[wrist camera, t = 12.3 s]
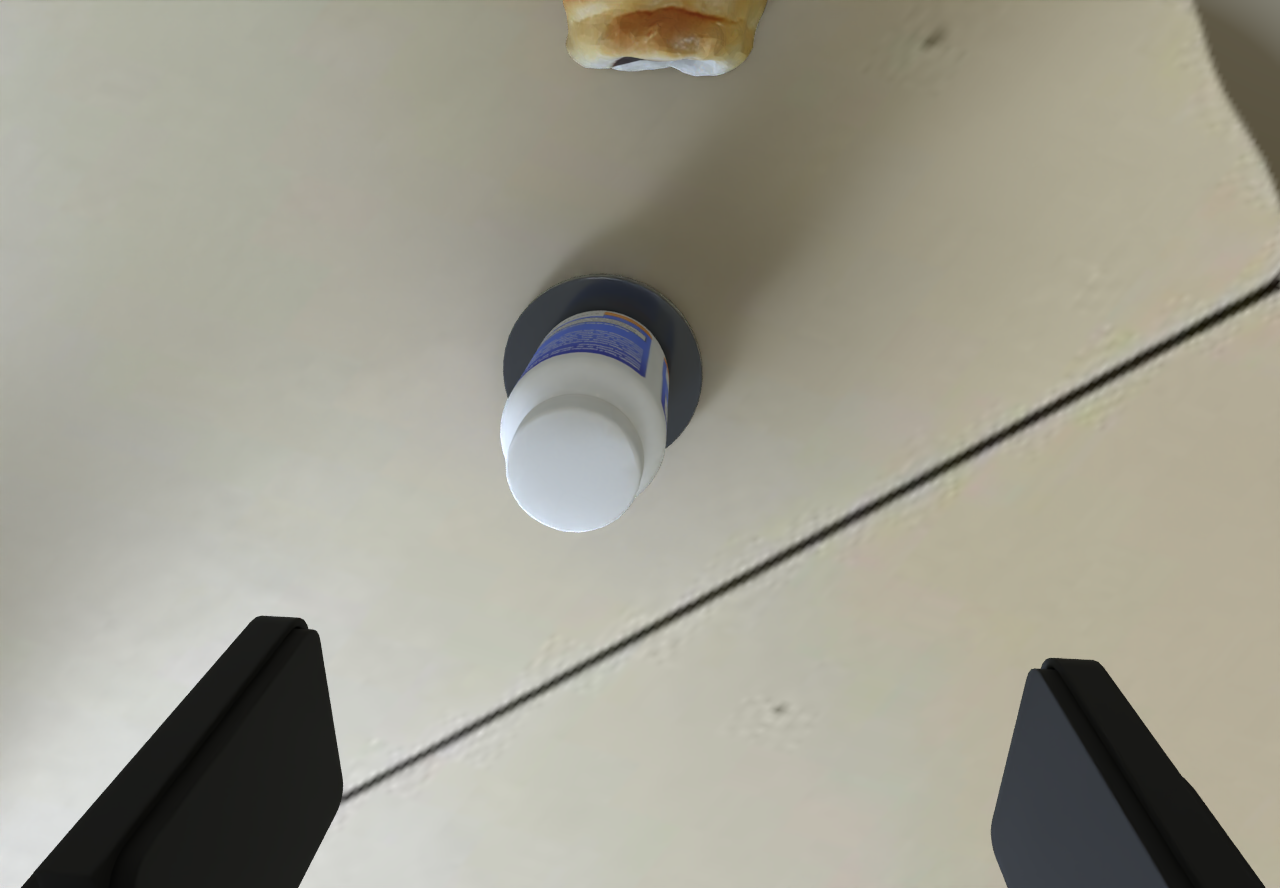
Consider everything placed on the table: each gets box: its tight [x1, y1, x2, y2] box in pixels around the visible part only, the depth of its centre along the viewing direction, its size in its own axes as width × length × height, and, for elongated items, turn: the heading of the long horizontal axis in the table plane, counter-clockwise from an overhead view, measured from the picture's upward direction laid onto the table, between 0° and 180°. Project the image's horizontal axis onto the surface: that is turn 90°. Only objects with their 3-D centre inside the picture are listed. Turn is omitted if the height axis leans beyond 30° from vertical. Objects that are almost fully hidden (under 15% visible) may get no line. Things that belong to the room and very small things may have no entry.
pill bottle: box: [500, 311, 669, 532], centre depth 28 cm, size 5×5×10 cm
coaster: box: [503, 274, 702, 449], centre depth 33 cm, size 8×8×1 cm
